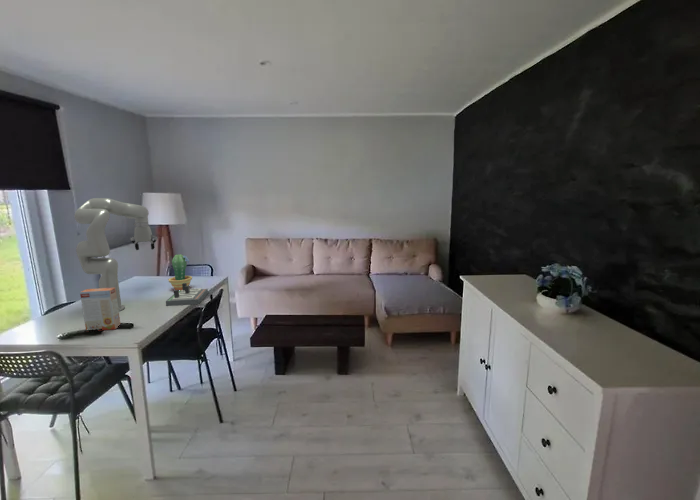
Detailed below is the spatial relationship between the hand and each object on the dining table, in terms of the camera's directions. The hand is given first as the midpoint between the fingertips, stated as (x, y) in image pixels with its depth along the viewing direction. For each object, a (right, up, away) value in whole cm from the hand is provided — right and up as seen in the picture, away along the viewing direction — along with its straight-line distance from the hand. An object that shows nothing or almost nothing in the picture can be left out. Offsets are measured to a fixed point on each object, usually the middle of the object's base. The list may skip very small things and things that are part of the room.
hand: (145, 249), depth 244 cm
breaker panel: (+38, -32, -17) cm, 52 cm away
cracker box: (+15, -41, -63) cm, 76 cm away
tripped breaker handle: (+37, -28, -18) cm, 50 cm away
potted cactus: (+22, -28, +7) cm, 36 cm away
